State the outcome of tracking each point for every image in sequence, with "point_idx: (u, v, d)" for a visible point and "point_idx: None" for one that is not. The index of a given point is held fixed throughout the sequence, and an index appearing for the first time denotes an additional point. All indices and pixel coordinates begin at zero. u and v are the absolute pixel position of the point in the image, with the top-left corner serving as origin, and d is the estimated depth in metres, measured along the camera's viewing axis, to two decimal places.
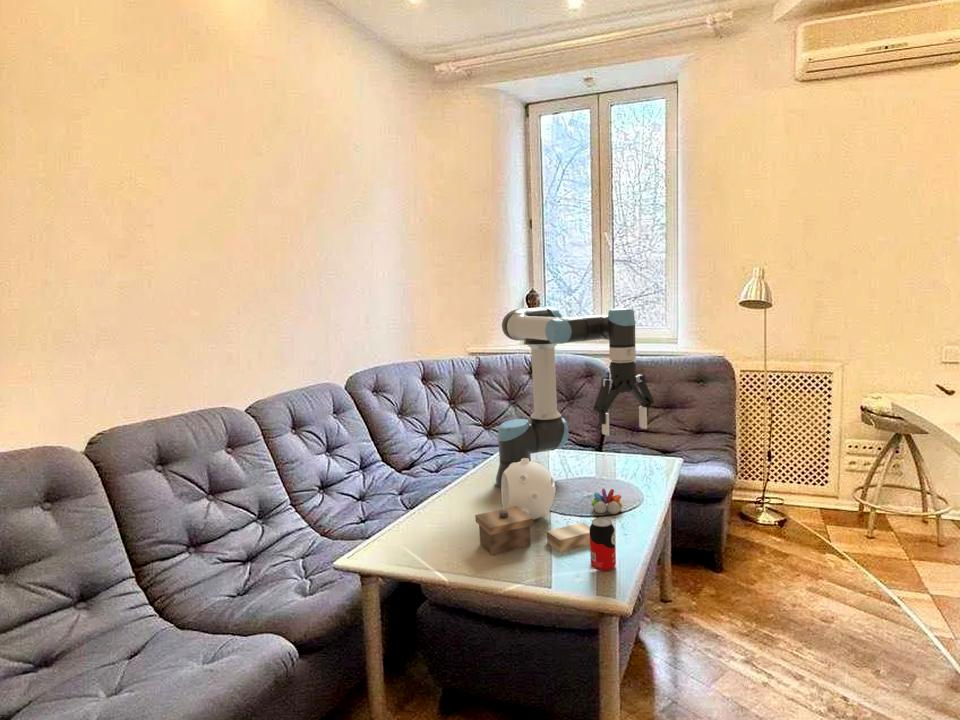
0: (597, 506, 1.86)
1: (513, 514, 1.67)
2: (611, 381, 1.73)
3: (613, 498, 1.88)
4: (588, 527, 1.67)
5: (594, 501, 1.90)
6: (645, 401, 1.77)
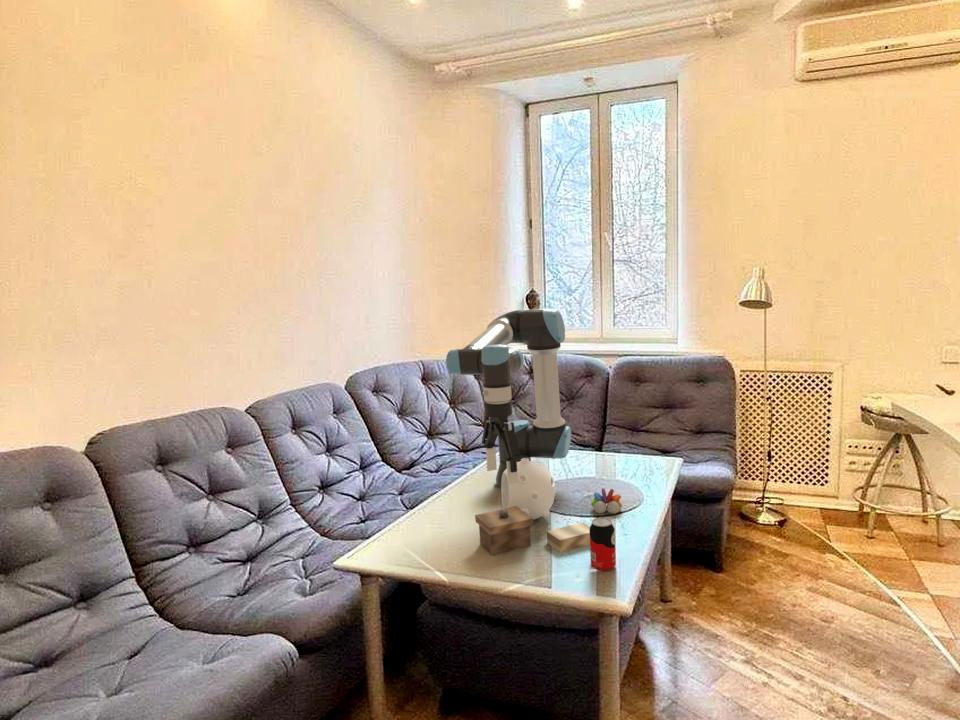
0: (597, 506, 1.86)
1: (513, 514, 1.67)
2: None
3: (613, 498, 1.88)
4: (588, 527, 1.67)
5: (594, 501, 1.90)
6: (507, 453, 1.57)
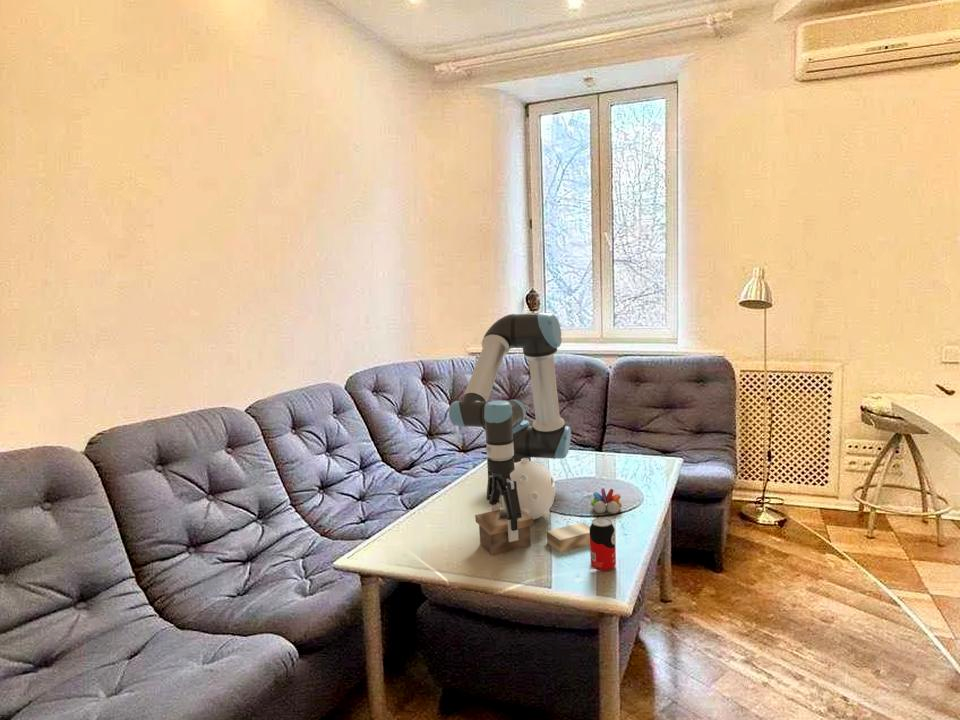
0: (597, 506, 1.86)
1: None
2: None
3: (612, 498, 1.89)
4: (588, 527, 1.67)
5: (593, 501, 1.90)
6: (508, 512, 1.59)
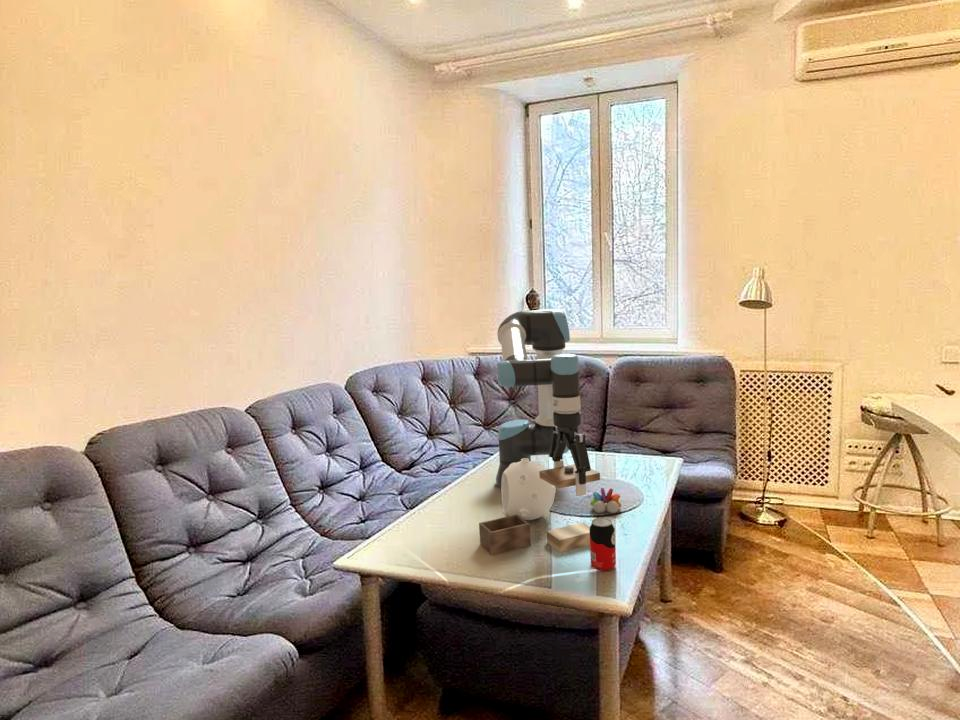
0: (596, 506, 1.86)
1: None
2: None
3: (612, 497, 1.89)
4: (588, 527, 1.67)
5: (593, 500, 1.90)
6: (576, 465, 1.57)
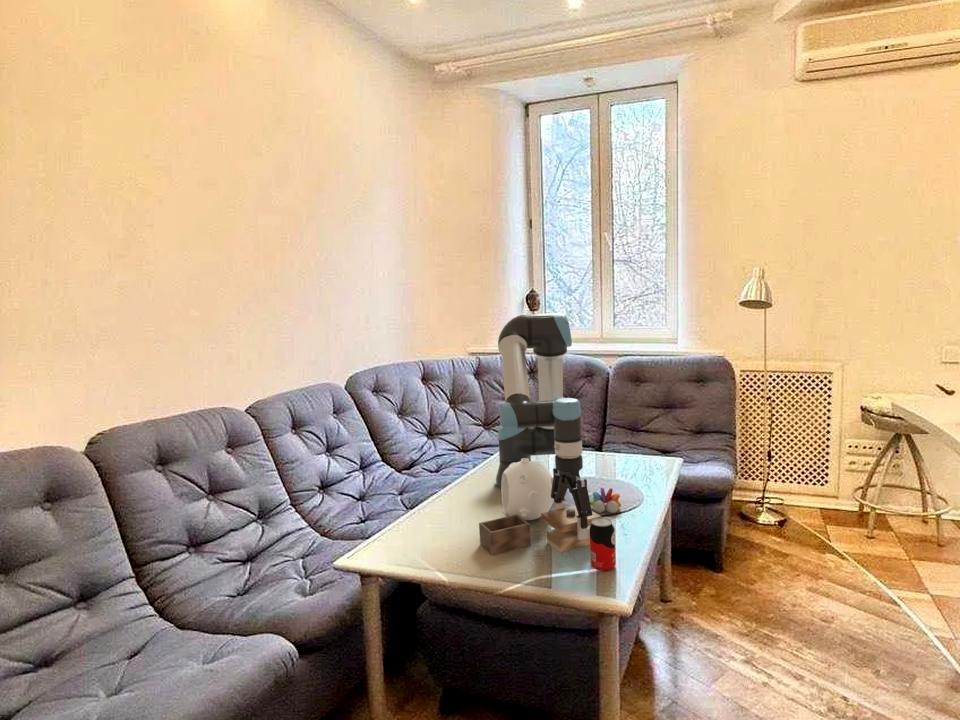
0: (596, 505, 1.87)
1: None
2: (559, 471, 1.68)
3: (612, 497, 1.89)
4: (588, 527, 1.67)
5: (593, 500, 1.91)
6: (578, 510, 1.59)
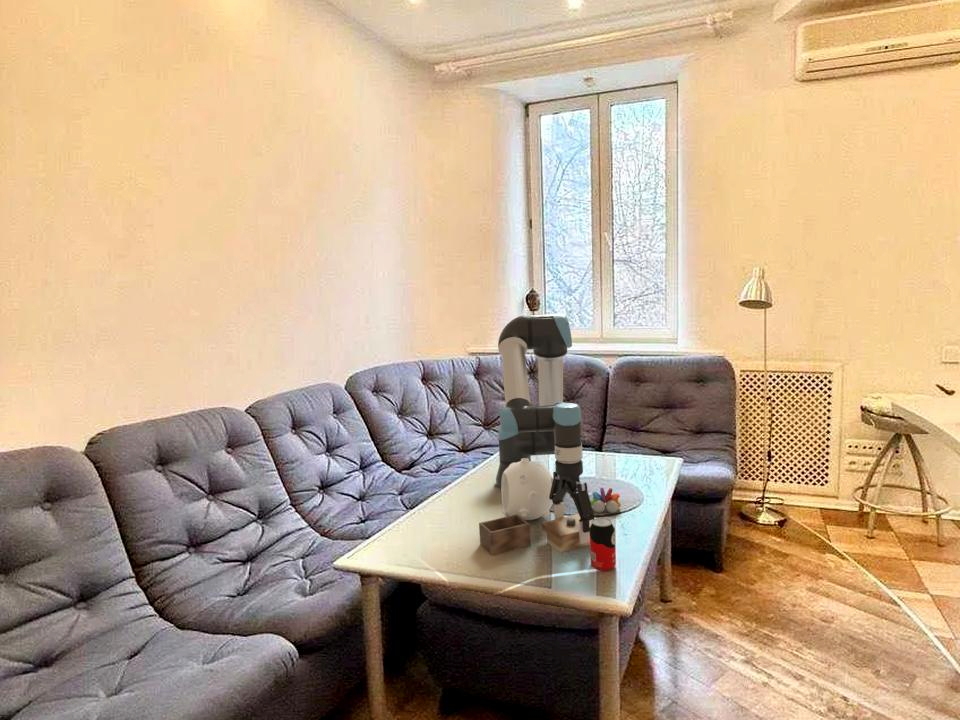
0: (596, 505, 1.87)
1: None
2: None
3: (611, 497, 1.89)
4: None
5: (593, 500, 1.91)
6: (580, 513, 1.58)
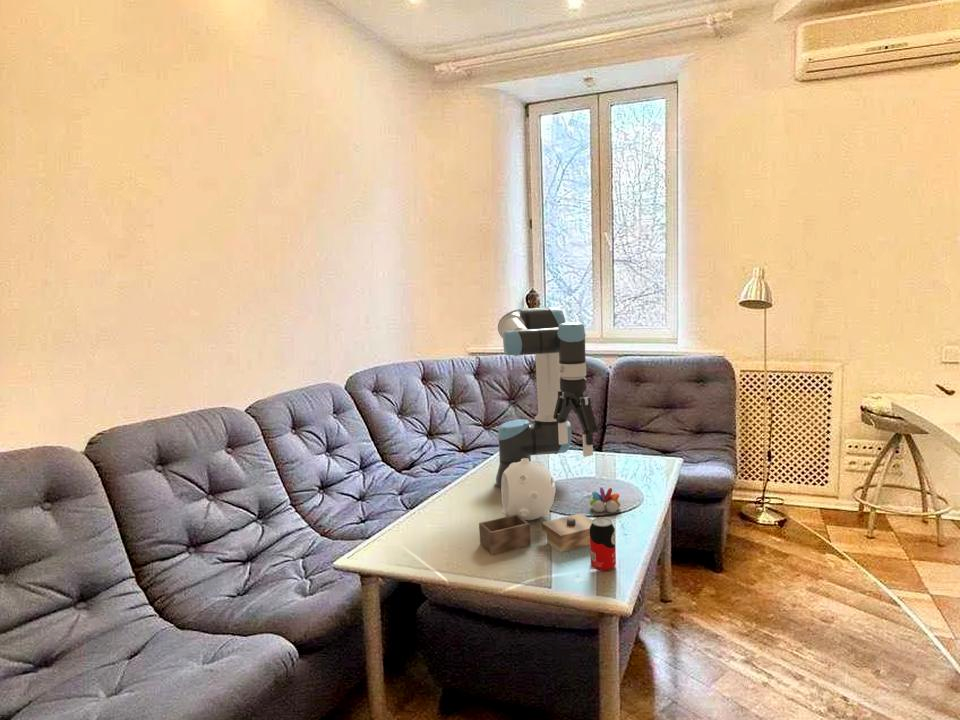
0: (595, 505, 1.87)
1: (580, 522, 1.66)
2: (563, 394, 1.73)
3: (611, 497, 1.89)
4: None
5: (592, 500, 1.91)
6: (583, 427, 1.63)
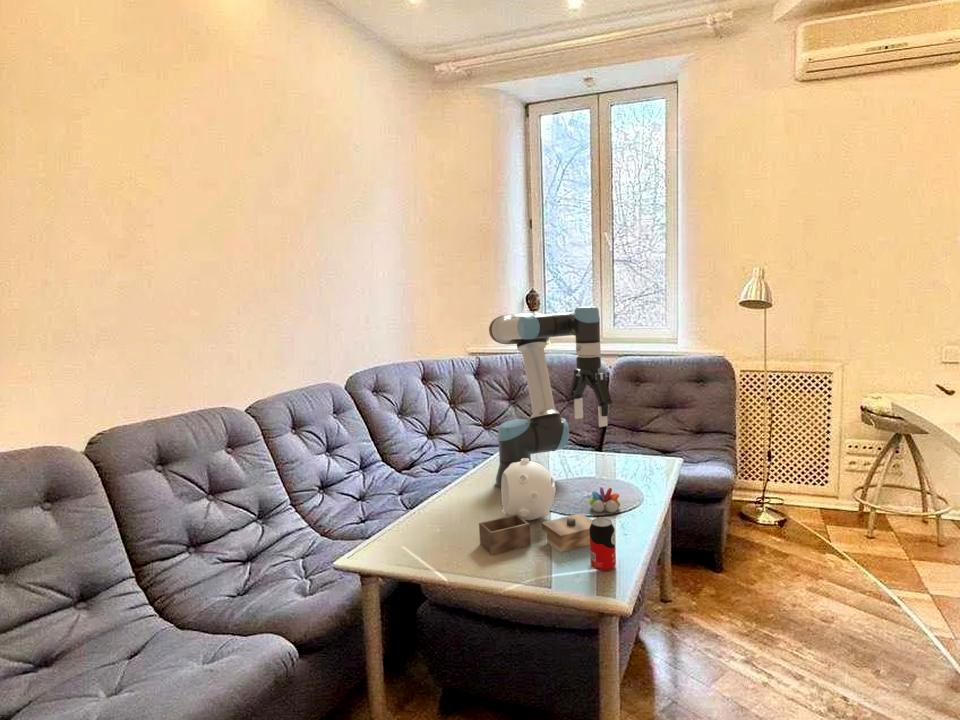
0: (595, 505, 1.87)
1: (580, 522, 1.66)
2: (579, 372, 1.90)
3: (611, 497, 1.89)
4: None
5: (592, 500, 1.91)
6: (599, 400, 1.80)
